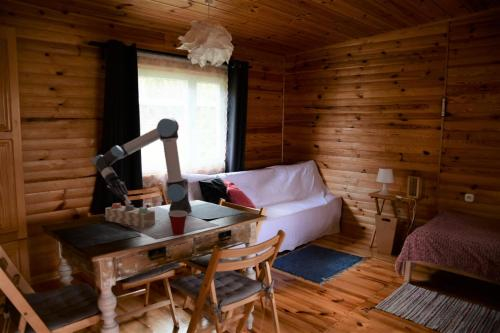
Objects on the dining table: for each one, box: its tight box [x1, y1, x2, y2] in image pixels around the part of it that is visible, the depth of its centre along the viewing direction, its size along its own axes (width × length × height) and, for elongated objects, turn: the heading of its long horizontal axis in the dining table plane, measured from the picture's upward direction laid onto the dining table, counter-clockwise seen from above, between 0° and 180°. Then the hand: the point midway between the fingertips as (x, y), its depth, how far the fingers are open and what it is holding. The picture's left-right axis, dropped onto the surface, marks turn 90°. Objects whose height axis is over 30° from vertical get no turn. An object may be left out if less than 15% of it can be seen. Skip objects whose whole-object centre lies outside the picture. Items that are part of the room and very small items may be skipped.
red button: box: [111, 202, 122, 209], centre depth 237 cm, size 5×5×5 cm
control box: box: [105, 205, 156, 228], centre depth 232 cm, size 33×10×8 cm, turn 59°
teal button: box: [138, 206, 149, 213], centre depth 225 cm, size 5×5×5 cm
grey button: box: [125, 204, 135, 211], centre depth 231 cm, size 5×5×5 cm
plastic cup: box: [167, 211, 189, 236], centre depth 206 cm, size 11×11×12 cm
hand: (129, 204), depth 231 cm, fingers closed
